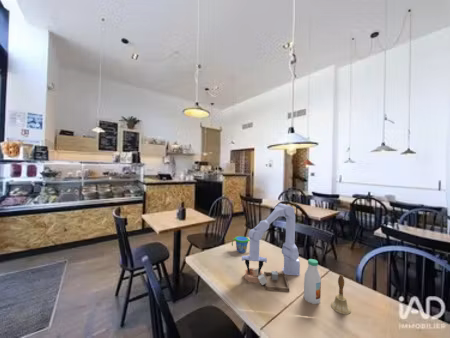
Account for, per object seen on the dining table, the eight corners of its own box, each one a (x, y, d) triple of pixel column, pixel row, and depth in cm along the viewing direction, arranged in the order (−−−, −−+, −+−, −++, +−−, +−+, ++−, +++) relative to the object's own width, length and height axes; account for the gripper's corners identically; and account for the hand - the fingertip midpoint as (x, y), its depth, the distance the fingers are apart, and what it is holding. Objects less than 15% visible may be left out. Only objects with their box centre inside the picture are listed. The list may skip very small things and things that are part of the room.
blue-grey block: (277, 277, 121) (277, 271, 121) (277, 280, 117) (278, 274, 117) (271, 276, 121) (271, 270, 121) (271, 279, 118) (272, 274, 118)
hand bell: (349, 317, 90) (350, 282, 90) (328, 308, 96) (329, 275, 95) (352, 307, 96) (353, 274, 96) (333, 300, 102) (334, 268, 102)
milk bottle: (310, 306, 97) (311, 265, 97) (300, 296, 104) (301, 258, 104) (323, 303, 99) (325, 263, 99) (313, 294, 106) (314, 256, 106)
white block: (262, 273, 115) (264, 276, 111) (265, 279, 115) (267, 282, 111) (257, 276, 115) (258, 279, 111) (260, 282, 114) (262, 285, 111)
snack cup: (252, 249, 161) (252, 237, 161) (250, 255, 151) (250, 241, 151) (233, 247, 166) (233, 235, 166) (230, 252, 156) (230, 239, 155)
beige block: (261, 274, 120) (258, 274, 123) (259, 268, 121) (256, 268, 124) (256, 276, 118) (253, 276, 121) (254, 269, 120) (251, 269, 123)
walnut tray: (284, 276, 122) (284, 273, 122) (289, 292, 107) (289, 288, 107) (263, 275, 124) (263, 271, 124) (265, 290, 108) (265, 286, 108)
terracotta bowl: (261, 274, 124) (262, 268, 124) (263, 284, 114) (263, 278, 114) (244, 273, 126) (245, 267, 126) (244, 282, 115) (244, 276, 115)
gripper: (266, 248, 121) (265, 270, 121) (242, 246, 123) (241, 268, 123) (267, 253, 114) (266, 277, 114) (241, 251, 116) (241, 274, 116)
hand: (253, 273), depth 118 cm, fingers open, 5 cm apart
